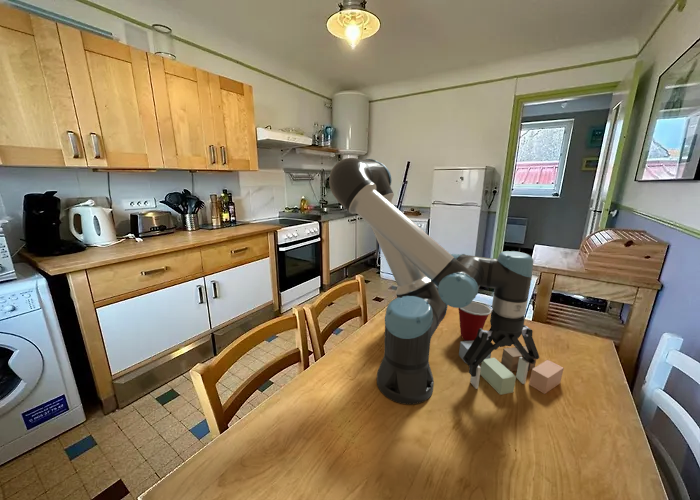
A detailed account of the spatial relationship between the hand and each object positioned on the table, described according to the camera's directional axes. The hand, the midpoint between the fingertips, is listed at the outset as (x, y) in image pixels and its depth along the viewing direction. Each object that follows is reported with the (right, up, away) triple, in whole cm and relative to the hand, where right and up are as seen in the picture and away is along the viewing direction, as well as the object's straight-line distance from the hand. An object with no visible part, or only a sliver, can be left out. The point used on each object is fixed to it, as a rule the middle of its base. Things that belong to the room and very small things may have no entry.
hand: (497, 383), depth 78 cm
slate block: (-2, +3, +11) cm, 11 cm away
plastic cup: (+2, +6, +22) cm, 23 cm away
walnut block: (+10, +2, +7) cm, 12 cm away
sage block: (0, 0, 0) cm, 0 cm away
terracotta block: (+13, 0, 0) cm, 13 cm away
